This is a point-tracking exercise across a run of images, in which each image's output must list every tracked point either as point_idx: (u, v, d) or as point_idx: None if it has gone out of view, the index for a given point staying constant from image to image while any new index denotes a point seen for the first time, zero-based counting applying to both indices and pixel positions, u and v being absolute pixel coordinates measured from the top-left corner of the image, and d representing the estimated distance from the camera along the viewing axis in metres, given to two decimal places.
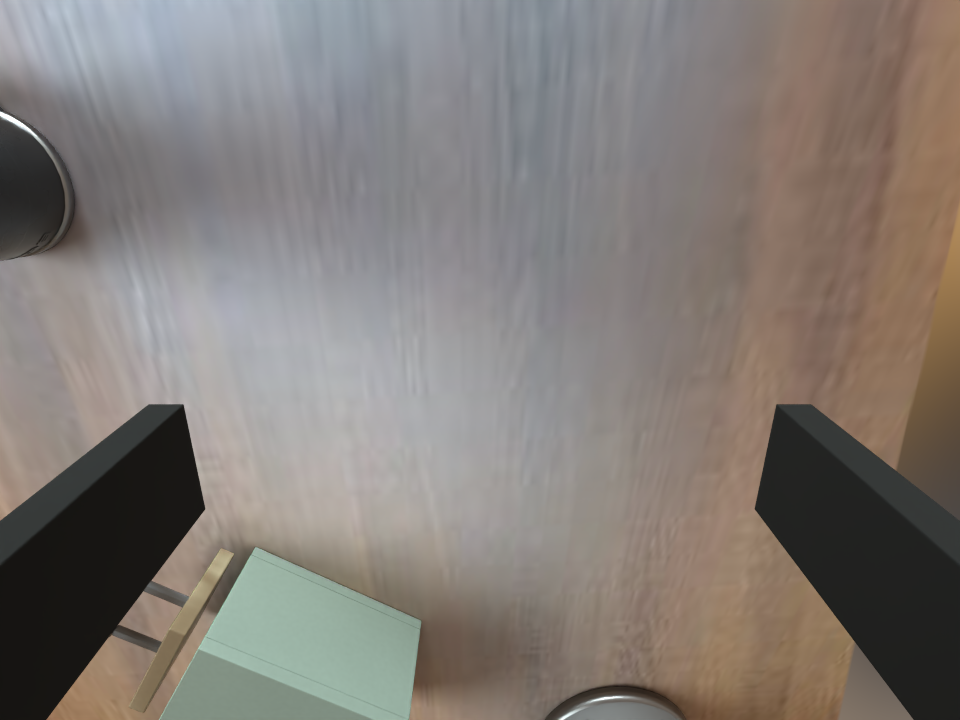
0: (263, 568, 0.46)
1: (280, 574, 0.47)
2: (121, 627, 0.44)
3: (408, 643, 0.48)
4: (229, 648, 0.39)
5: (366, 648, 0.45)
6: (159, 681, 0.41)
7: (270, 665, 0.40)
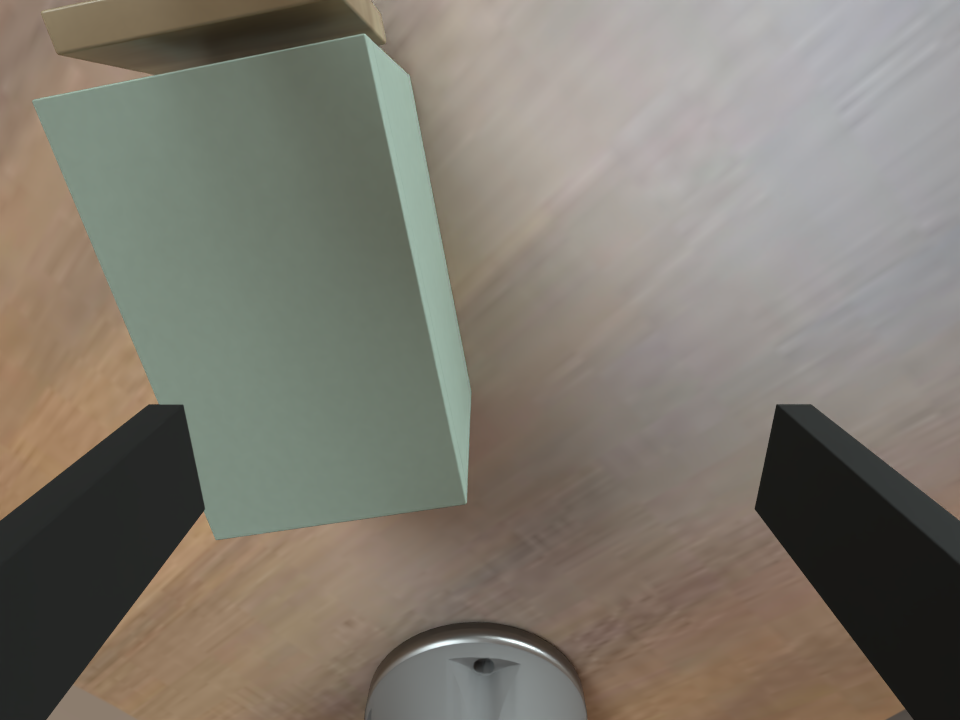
0: (411, 106, 0.24)
1: (418, 142, 0.25)
2: None
3: (467, 399, 0.28)
4: None
5: (451, 348, 0.25)
6: (173, 28, 0.17)
7: (406, 208, 0.18)
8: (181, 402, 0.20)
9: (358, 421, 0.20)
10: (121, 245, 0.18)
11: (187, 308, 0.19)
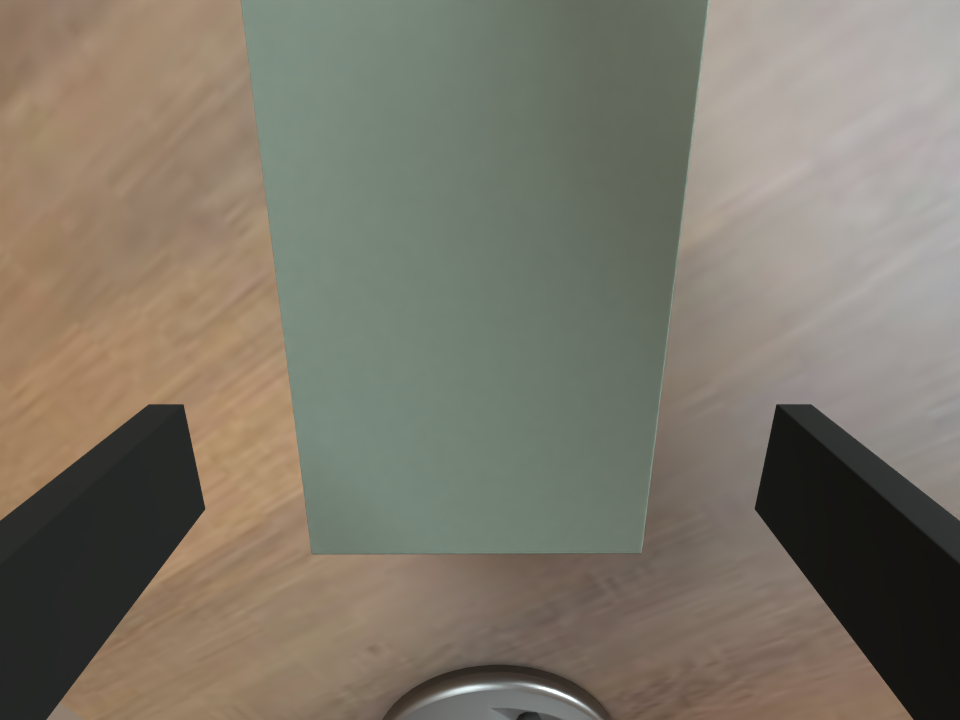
0: None
1: None
2: None
3: None
4: None
5: None
6: None
7: None
8: (319, 372, 0.15)
9: (541, 432, 0.16)
10: (299, 148, 0.13)
11: (363, 250, 0.14)
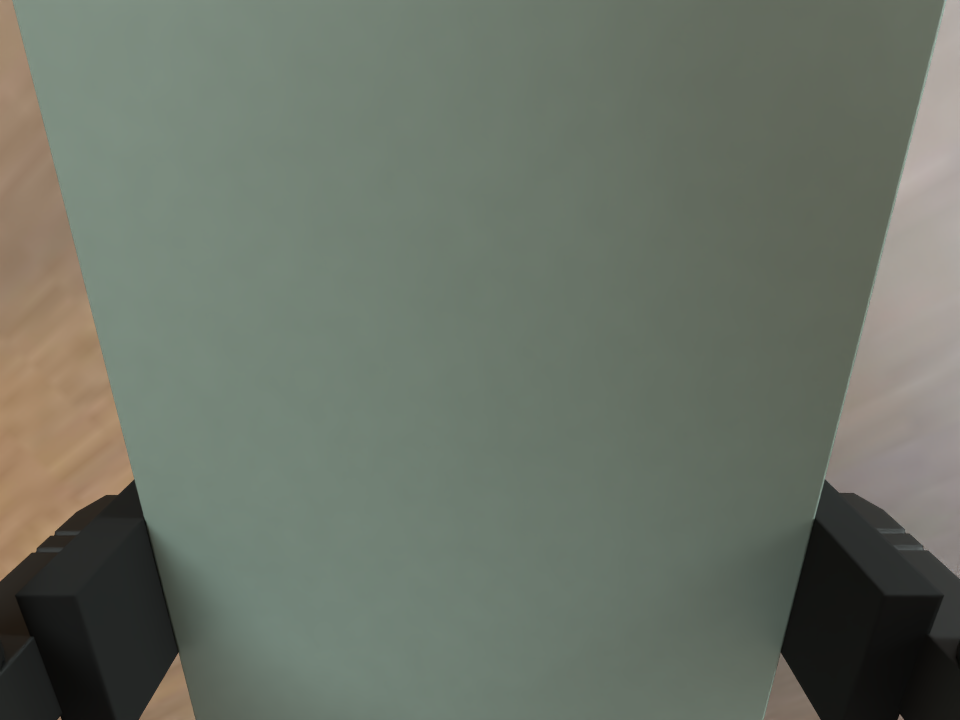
0: None
1: None
2: None
3: None
4: None
5: None
6: None
7: None
8: (201, 532, 0.09)
9: (591, 624, 0.09)
10: (124, 132, 0.07)
11: (267, 327, 0.07)
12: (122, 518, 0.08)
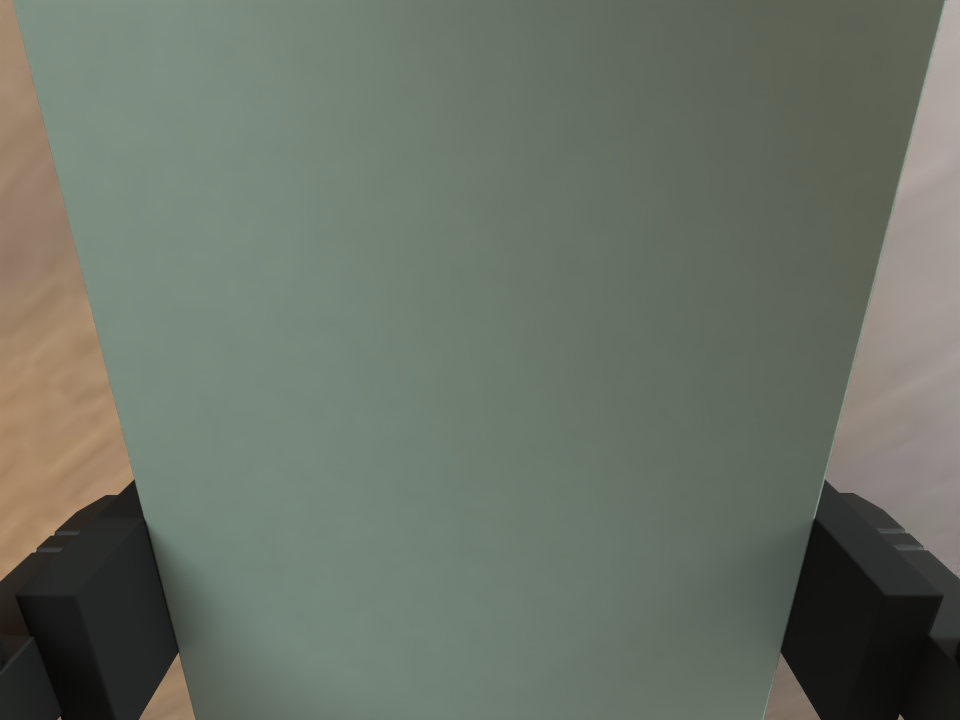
0: None
1: None
2: None
3: None
4: None
5: None
6: None
7: None
8: (202, 532, 0.09)
9: (591, 624, 0.09)
10: (124, 132, 0.07)
11: (267, 328, 0.07)
12: (122, 518, 0.08)
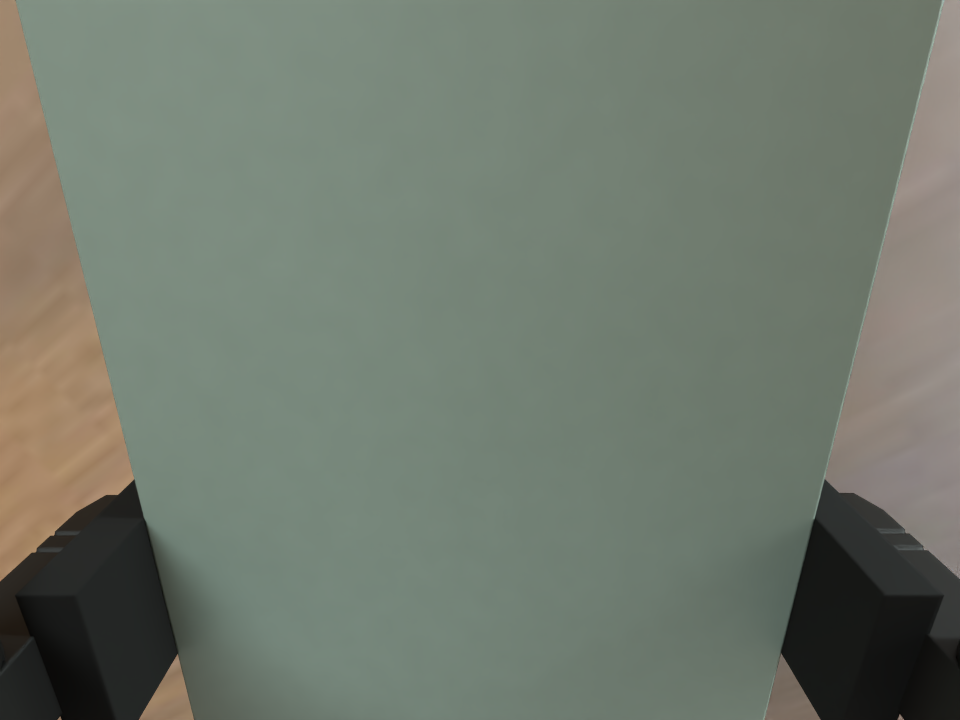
0: None
1: None
2: None
3: None
4: None
5: None
6: None
7: None
8: (201, 531, 0.09)
9: (591, 623, 0.09)
10: (125, 130, 0.07)
11: (267, 324, 0.07)
12: (122, 518, 0.08)
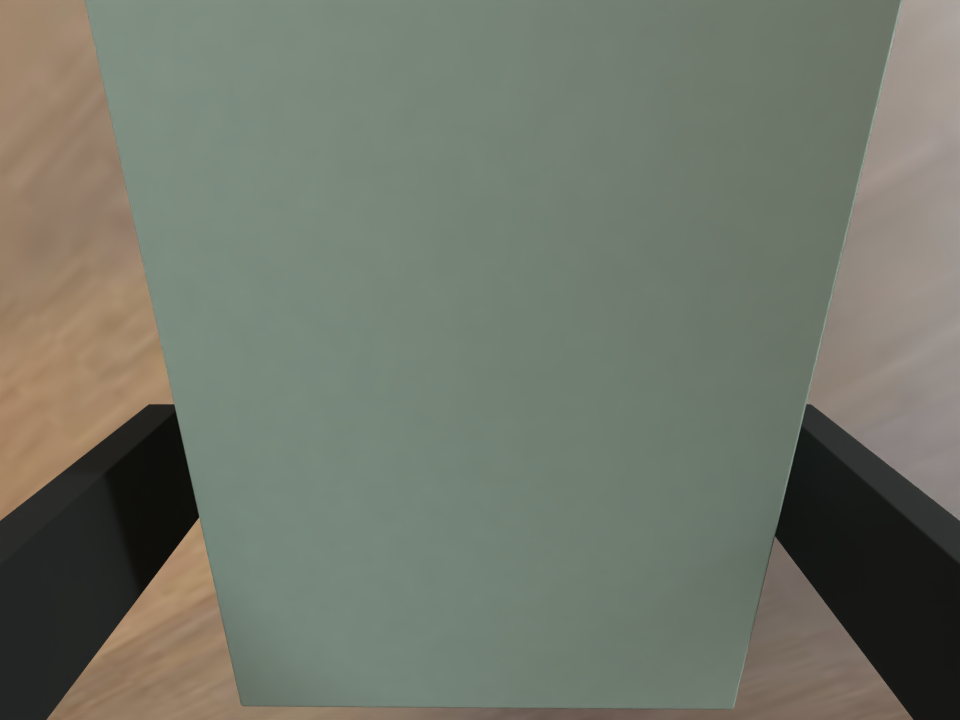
0: None
1: None
2: None
3: None
4: None
5: None
6: None
7: None
8: (234, 453, 0.09)
9: (591, 543, 0.10)
10: (171, 75, 0.07)
11: (297, 257, 0.08)
12: None
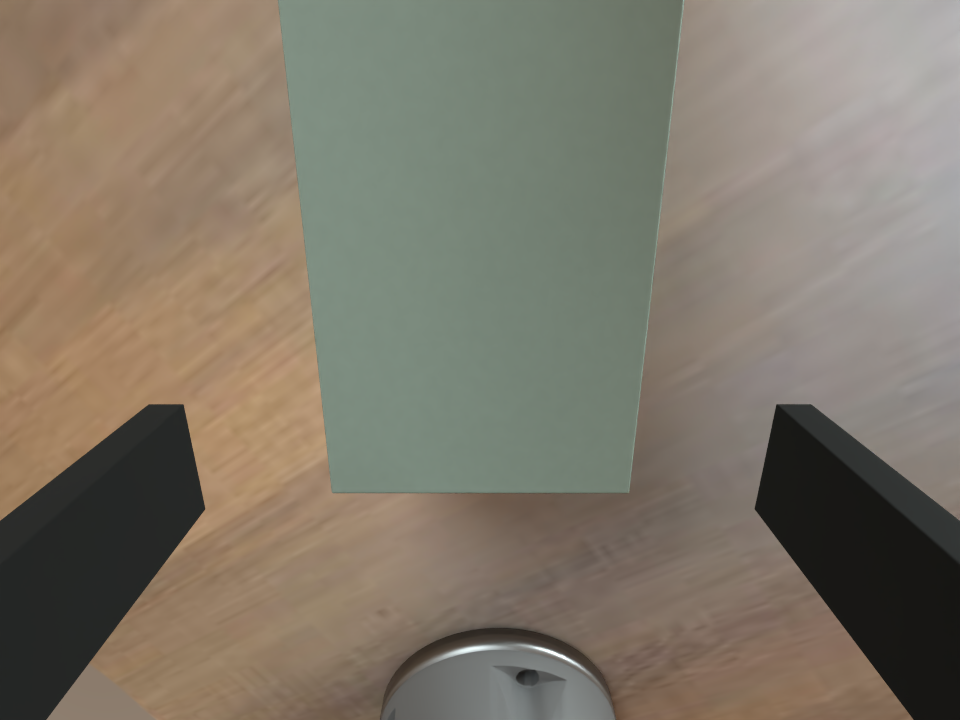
0: None
1: None
2: None
3: None
4: None
5: None
6: None
7: None
8: (340, 324, 0.17)
9: (538, 380, 0.18)
10: (326, 122, 0.15)
11: (381, 213, 0.16)
12: None
